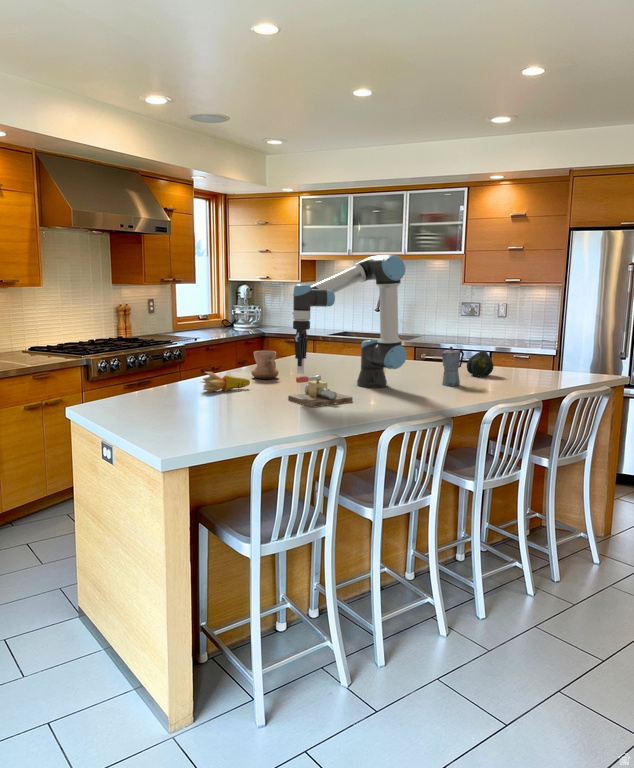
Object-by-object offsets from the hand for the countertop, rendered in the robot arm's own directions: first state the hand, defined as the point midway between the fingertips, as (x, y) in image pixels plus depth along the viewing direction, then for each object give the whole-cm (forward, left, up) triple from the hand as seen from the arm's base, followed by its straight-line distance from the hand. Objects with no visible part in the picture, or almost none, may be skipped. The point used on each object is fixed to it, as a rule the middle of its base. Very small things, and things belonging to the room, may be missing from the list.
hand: (300, 373), depth 276 cm
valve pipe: (-5, +9, -10) cm, 14 cm away
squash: (-124, 0, -12) cm, 124 cm away
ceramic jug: (-16, -55, -12) cm, 59 cm away
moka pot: (-87, +12, -12) cm, 88 cm away
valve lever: (0, +7, -3) cm, 7 cm away
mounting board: (-5, +9, -12) cm, 15 cm away
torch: (+19, -35, -12) cm, 41 cm away
